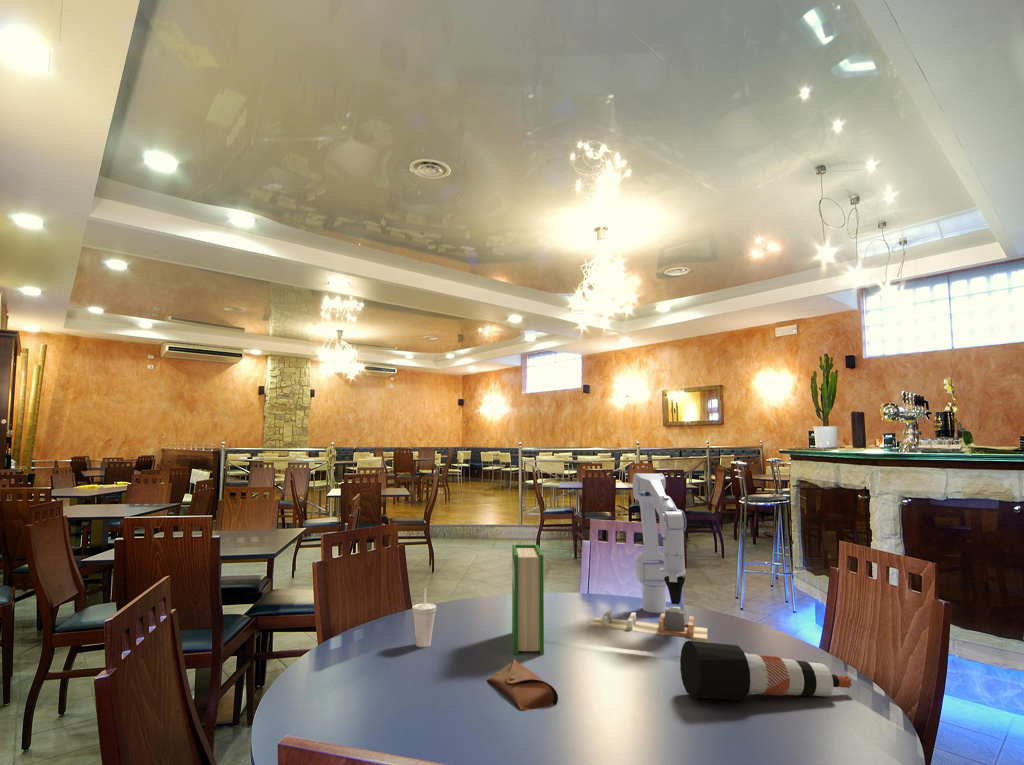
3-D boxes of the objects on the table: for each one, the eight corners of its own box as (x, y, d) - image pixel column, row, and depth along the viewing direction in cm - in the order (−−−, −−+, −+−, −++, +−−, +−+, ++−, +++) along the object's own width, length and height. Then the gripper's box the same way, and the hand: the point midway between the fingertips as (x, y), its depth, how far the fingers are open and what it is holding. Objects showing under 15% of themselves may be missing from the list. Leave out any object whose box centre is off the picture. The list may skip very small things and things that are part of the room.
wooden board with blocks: (595, 620, 164) (595, 606, 165) (707, 631, 153) (706, 617, 154) (588, 629, 155) (588, 615, 155) (707, 642, 144) (706, 627, 144)
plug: (666, 627, 154) (665, 605, 155) (685, 629, 152) (684, 606, 153) (665, 630, 151) (664, 608, 152) (684, 632, 149) (683, 610, 150)
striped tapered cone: (855, 722, 109) (872, 684, 106) (692, 708, 107) (705, 669, 104) (826, 680, 119) (841, 643, 116) (676, 666, 117) (687, 629, 113)
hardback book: (543, 654, 135) (543, 555, 138) (514, 654, 134) (514, 555, 138) (538, 632, 152) (538, 544, 156) (512, 632, 152) (512, 544, 155)
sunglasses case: (482, 679, 119) (496, 649, 121) (506, 691, 121) (519, 661, 124) (522, 712, 103) (537, 677, 106) (548, 725, 106) (563, 690, 108)
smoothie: (438, 641, 144) (439, 586, 146) (432, 649, 138) (433, 592, 140) (414, 640, 145) (416, 586, 147) (407, 648, 139) (409, 591, 141)
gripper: (661, 549, 162) (663, 596, 160) (657, 557, 149) (658, 608, 147) (686, 550, 160) (688, 598, 158) (683, 558, 147) (686, 611, 145)
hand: (675, 603), depth 152 cm, fingers closed
